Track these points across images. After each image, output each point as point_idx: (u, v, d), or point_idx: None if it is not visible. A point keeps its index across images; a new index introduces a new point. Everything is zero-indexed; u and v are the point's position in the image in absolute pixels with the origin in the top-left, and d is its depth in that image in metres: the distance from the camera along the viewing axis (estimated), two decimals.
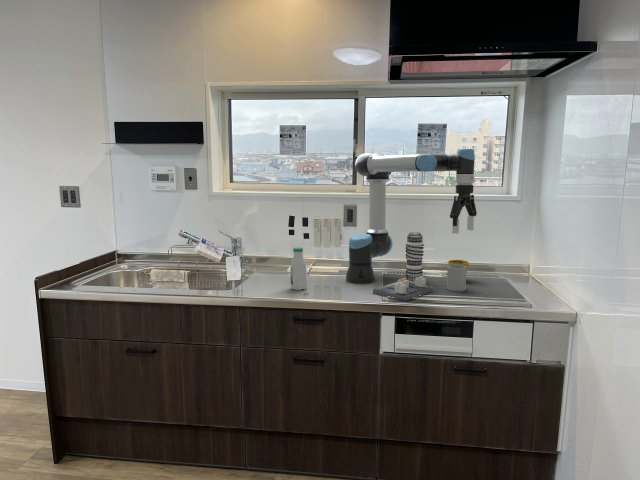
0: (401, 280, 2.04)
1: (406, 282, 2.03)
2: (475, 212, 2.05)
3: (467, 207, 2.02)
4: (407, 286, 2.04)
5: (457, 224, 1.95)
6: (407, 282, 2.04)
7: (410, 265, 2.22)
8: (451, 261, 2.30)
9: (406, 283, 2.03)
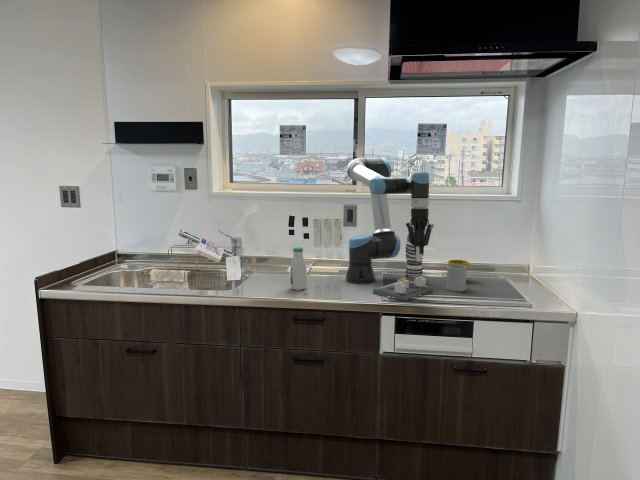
0: (401, 280, 2.04)
1: (406, 282, 2.03)
2: (423, 242, 1.94)
3: None
4: (407, 286, 2.04)
5: (416, 252, 1.97)
6: (407, 282, 2.04)
7: (410, 265, 2.22)
8: (451, 261, 2.30)
9: (406, 283, 2.03)
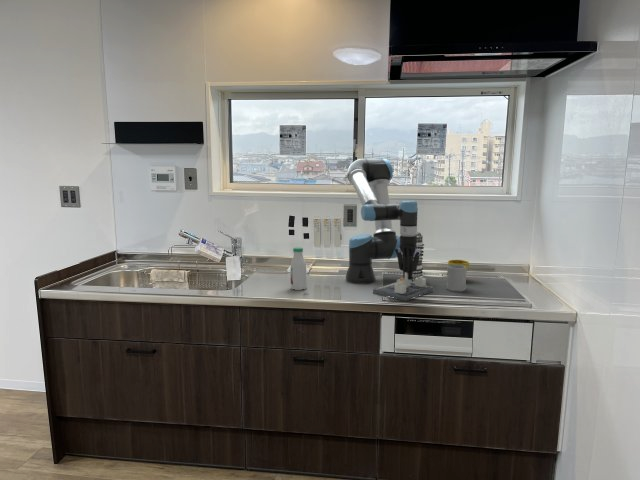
0: (400, 280, 2.04)
1: None
2: (411, 269, 2.00)
3: None
4: None
5: (404, 277, 2.03)
6: None
7: None
8: (451, 261, 2.30)
9: None
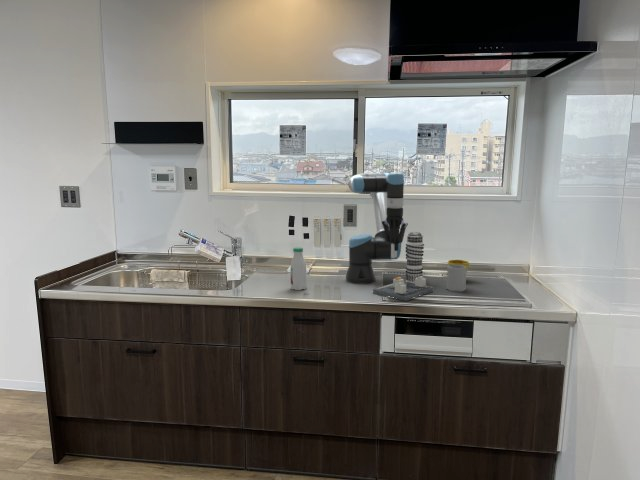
0: (396, 279, 2.06)
1: (401, 281, 2.05)
2: (397, 240, 2.04)
3: None
4: None
5: (391, 248, 2.08)
6: (402, 281, 2.06)
7: (410, 265, 2.22)
8: (451, 261, 2.30)
9: None
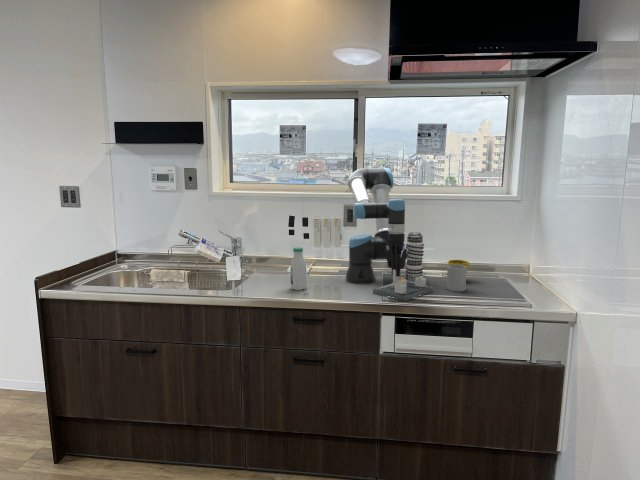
0: (399, 280, 2.05)
1: (404, 282, 2.04)
2: (399, 266, 2.04)
3: None
4: None
5: (393, 274, 2.07)
6: (405, 282, 2.05)
7: (410, 265, 2.22)
8: (451, 261, 2.30)
9: (404, 283, 2.04)
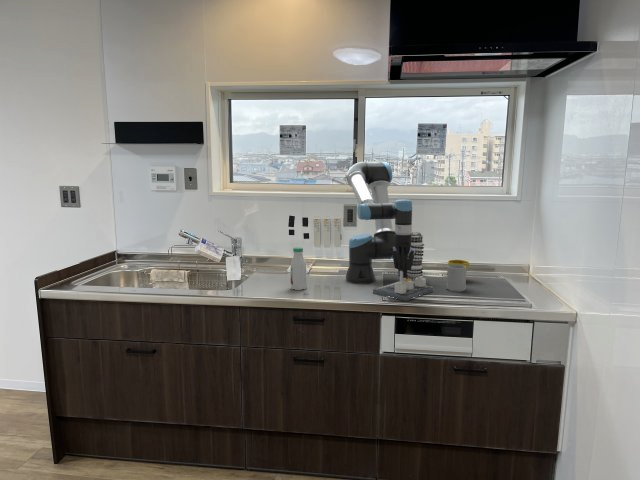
0: (406, 281, 2.02)
1: (411, 283, 2.02)
2: (406, 267, 2.01)
3: None
4: (412, 287, 2.03)
5: (399, 276, 2.05)
6: (411, 283, 2.02)
7: None
8: (451, 261, 2.30)
9: (411, 284, 2.02)
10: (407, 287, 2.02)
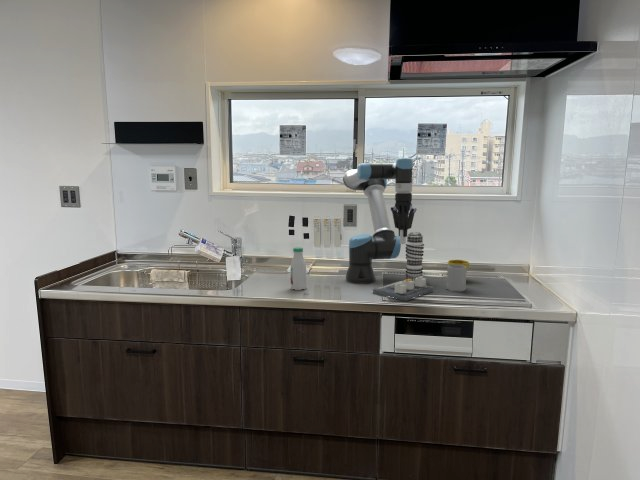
0: (406, 281, 2.02)
1: (411, 283, 2.01)
2: (406, 226, 2.02)
3: None
4: (412, 287, 2.02)
5: (400, 235, 2.05)
6: (412, 283, 2.02)
7: (410, 265, 2.22)
8: (451, 261, 2.30)
9: (411, 284, 2.02)
10: (407, 287, 2.02)
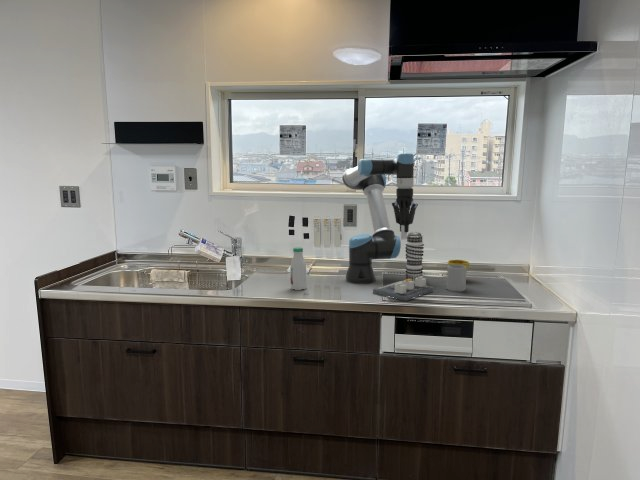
0: (406, 281, 2.02)
1: (411, 283, 2.01)
2: (407, 221, 2.02)
3: None
4: (412, 287, 2.02)
5: (401, 230, 2.05)
6: (412, 283, 2.02)
7: (410, 265, 2.22)
8: (451, 261, 2.30)
9: (411, 284, 2.02)
10: (407, 287, 2.02)
